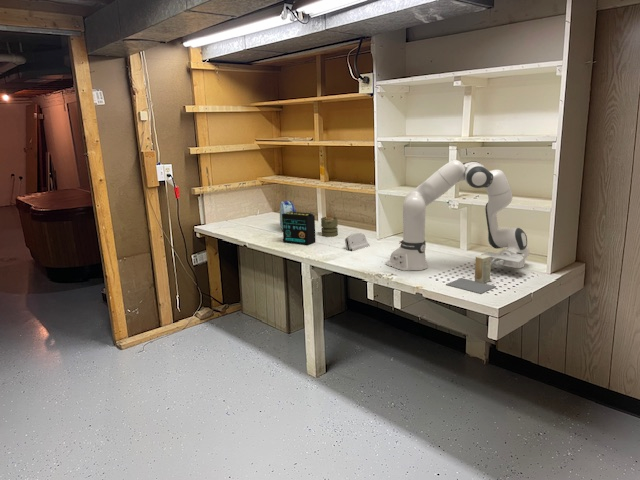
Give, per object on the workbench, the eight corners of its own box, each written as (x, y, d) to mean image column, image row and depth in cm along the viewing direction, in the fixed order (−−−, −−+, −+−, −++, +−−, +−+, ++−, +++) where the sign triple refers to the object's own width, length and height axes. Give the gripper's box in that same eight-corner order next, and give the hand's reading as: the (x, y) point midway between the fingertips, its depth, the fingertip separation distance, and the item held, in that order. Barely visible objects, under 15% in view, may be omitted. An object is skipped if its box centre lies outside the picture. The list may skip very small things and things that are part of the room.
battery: (315, 242, 313) (314, 212, 308) (307, 245, 305) (306, 214, 300) (291, 239, 323) (290, 210, 318) (283, 242, 315) (281, 212, 310)
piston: (336, 219, 324) (320, 219, 325) (337, 236, 326) (320, 237, 328) (337, 216, 335) (321, 216, 336) (338, 233, 337) (322, 233, 339)
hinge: (352, 251, 287) (348, 235, 287) (347, 252, 291) (342, 236, 291) (370, 246, 298) (366, 230, 299) (364, 247, 302) (360, 232, 302)
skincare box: (483, 278, 229) (484, 254, 227) (490, 280, 226) (491, 256, 223) (473, 281, 226) (475, 256, 223) (481, 283, 222) (482, 258, 220)
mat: (445, 285, 222) (445, 284, 222) (461, 278, 230) (461, 277, 230) (481, 294, 209) (481, 293, 209) (496, 287, 217) (496, 286, 217)
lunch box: (297, 232, 344) (296, 203, 339) (282, 233, 342) (281, 204, 338) (293, 225, 369) (292, 198, 364) (279, 226, 367) (277, 199, 363)
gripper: (489, 248, 247) (474, 253, 238) (528, 254, 232) (514, 260, 223) (488, 259, 248) (474, 265, 239) (527, 267, 233) (513, 273, 224)
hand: (493, 263), depth 231 cm, fingers closed
